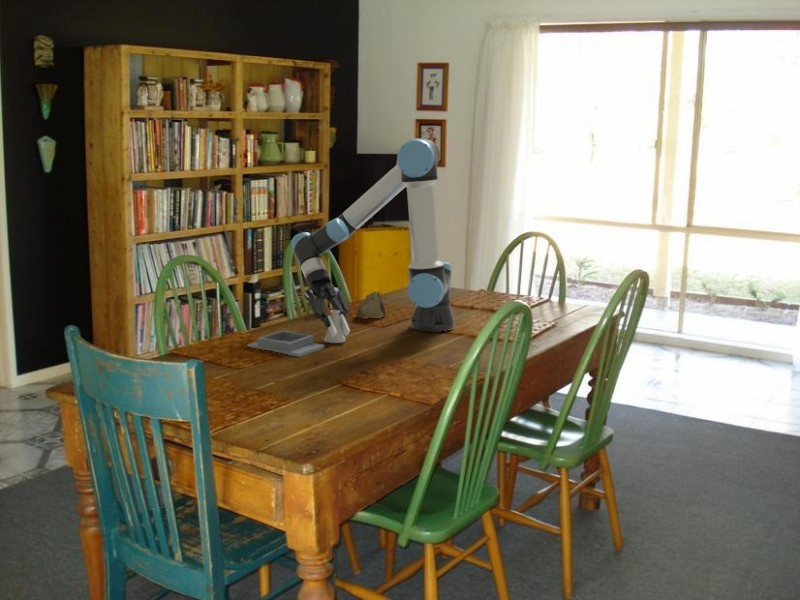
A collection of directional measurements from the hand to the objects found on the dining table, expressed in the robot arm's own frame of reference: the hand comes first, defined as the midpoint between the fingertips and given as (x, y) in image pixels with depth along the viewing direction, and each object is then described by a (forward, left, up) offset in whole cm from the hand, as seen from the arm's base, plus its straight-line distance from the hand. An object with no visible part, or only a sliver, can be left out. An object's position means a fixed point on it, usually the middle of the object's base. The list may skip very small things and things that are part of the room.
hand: (341, 333), depth 292 cm
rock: (+12, -38, -4) cm, 40 cm away
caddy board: (+11, +14, -3) cm, 18 cm away
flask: (+3, -2, -4) cm, 5 cm away
